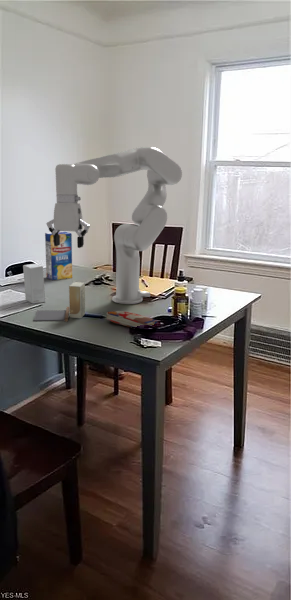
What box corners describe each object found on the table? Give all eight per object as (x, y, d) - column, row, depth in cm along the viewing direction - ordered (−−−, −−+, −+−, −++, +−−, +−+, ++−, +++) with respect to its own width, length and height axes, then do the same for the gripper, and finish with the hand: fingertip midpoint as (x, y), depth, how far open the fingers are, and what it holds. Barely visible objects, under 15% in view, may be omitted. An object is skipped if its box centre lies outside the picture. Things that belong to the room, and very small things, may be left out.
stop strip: (69, 310, 187) (69, 306, 187) (67, 321, 174) (67, 317, 173) (66, 310, 187) (66, 306, 187) (64, 321, 174) (64, 317, 173)
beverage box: (46, 277, 241) (44, 233, 235) (66, 275, 247) (65, 231, 241) (51, 280, 235) (50, 234, 229) (72, 277, 241) (71, 233, 235)
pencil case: (126, 317, 181) (126, 304, 180) (162, 330, 167) (162, 317, 166) (102, 322, 174) (102, 309, 173) (137, 337, 160) (138, 323, 159)
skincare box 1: (45, 302, 197) (44, 266, 193) (31, 304, 194) (30, 267, 190) (38, 297, 204) (36, 262, 200) (24, 299, 201) (22, 264, 197)
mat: (66, 311, 186) (66, 310, 186) (64, 320, 175) (64, 319, 174) (37, 311, 185) (37, 310, 185) (33, 321, 173) (33, 320, 173)
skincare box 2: (74, 313, 184) (74, 281, 181) (85, 313, 183) (85, 282, 180) (69, 317, 178) (68, 285, 175) (80, 318, 177) (80, 286, 174)
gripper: (93, 199, 177) (94, 246, 181) (51, 198, 182) (53, 243, 187) (83, 201, 170) (85, 249, 174) (40, 199, 175) (42, 246, 180)
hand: (68, 246), depth 181 cm, fingers open, 9 cm apart
